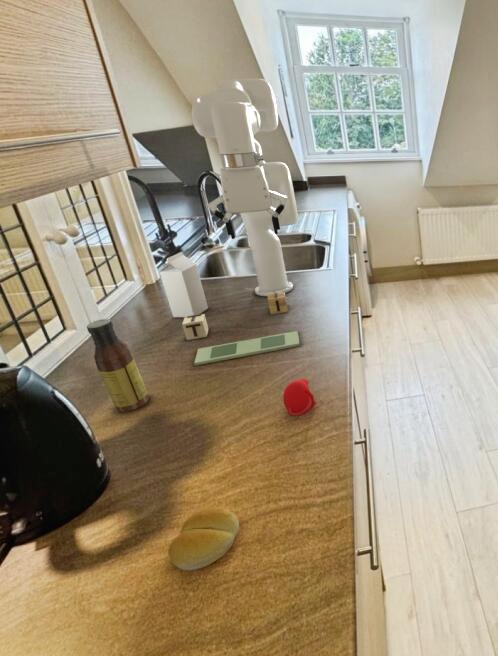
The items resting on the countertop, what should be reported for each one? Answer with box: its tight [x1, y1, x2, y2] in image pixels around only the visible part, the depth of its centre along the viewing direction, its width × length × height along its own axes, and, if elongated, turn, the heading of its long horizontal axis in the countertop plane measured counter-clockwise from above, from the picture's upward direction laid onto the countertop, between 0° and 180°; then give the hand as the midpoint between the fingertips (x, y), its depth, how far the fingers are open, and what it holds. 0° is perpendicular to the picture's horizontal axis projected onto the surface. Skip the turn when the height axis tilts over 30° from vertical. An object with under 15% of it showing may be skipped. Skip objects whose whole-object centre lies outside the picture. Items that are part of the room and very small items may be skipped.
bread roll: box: [167, 506, 240, 571], centre depth 64 cm, size 8×9×4 cm
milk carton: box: [159, 251, 209, 318], centre depth 138 cm, size 7×7×19 cm
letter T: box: [181, 313, 210, 341], centre depth 127 cm, size 5×5×5 cm
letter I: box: [267, 292, 289, 315], centre depth 141 cm, size 5×5×5 cm
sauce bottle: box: [86, 318, 150, 412], centre depth 93 cm, size 7×6×20 cm
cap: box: [282, 378, 317, 417], centre depth 93 cm, size 8×6×6 cm
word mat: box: [193, 330, 300, 366], centre depth 119 cm, size 8×25×1 cm, turn 110°
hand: (255, 235), depth 109 cm, fingers open, 9 cm apart
